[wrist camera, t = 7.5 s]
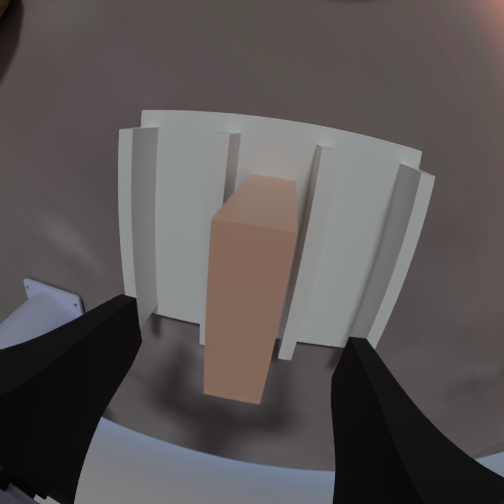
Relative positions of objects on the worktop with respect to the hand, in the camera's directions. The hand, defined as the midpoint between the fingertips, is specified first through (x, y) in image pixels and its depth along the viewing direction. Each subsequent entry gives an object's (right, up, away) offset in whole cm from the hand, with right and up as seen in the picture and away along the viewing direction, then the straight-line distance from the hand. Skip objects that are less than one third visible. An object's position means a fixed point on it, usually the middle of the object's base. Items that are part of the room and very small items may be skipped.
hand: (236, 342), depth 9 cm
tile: (+1, +3, +8) cm, 9 cm away
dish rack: (+1, +4, +9) cm, 10 cm away
